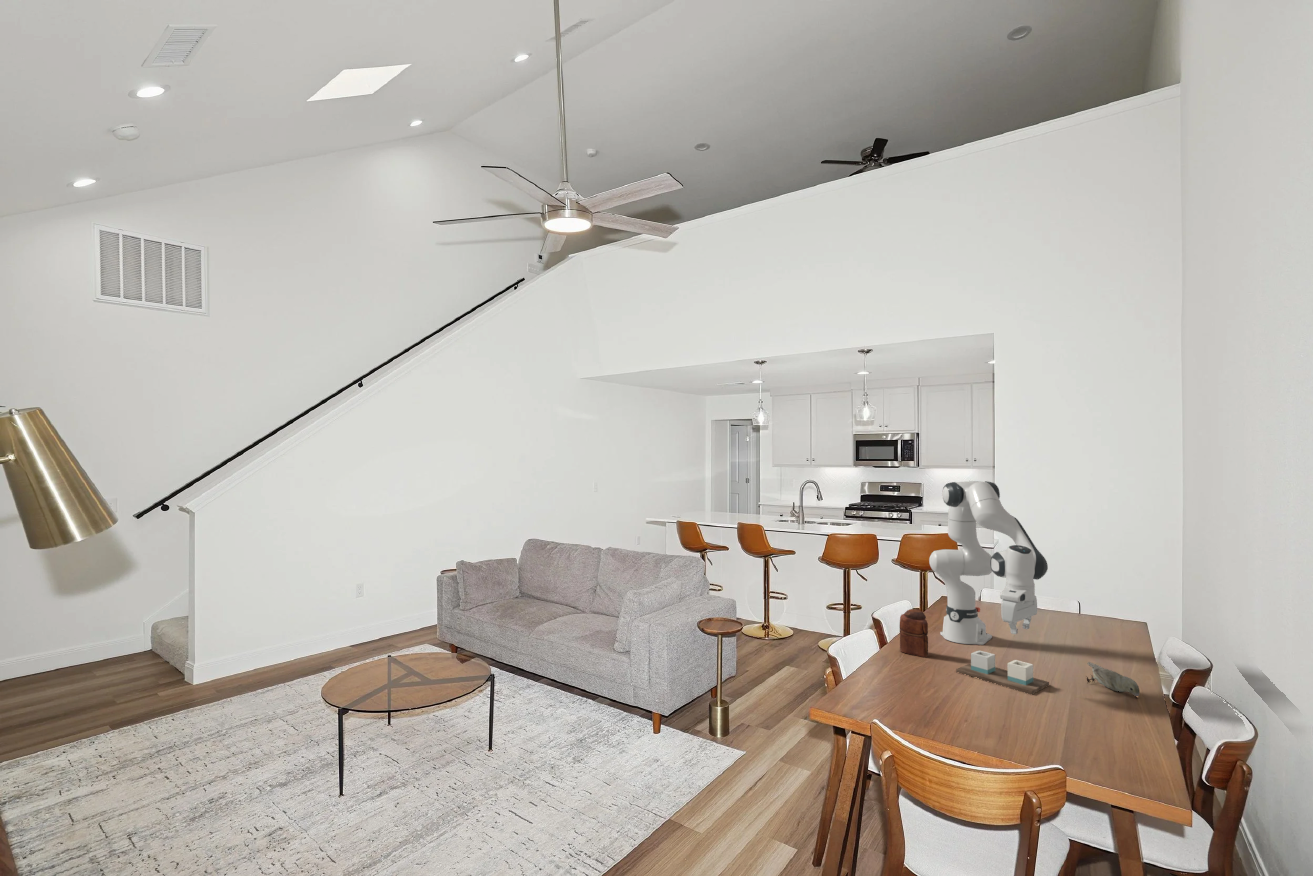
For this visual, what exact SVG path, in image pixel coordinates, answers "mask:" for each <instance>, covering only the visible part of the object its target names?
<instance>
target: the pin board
mask: <svg viewBox="0 0 1313 876" xmlns="http://www.w3.org/2000/svg"><path fill="white" fill-rule="evenodd" d="M983 656H984V655H983ZM1020 666H1022V665H1020ZM955 671H956V673H957V672H959V673H958V674H960V673H963V674H962V675H964V674H966V675H965V676H967V675H969V676H968V677H970V676H973V677H972V678H974V677H977V678H979V679H978V680H980V679H982V680H981V681H984V680H985V681H984V682H987V681H989V682H988V683H990V682H992V683H991V684H994V683H996V684H995V685H997V684H998V686H1001V685H1002V686H1001V687H1004V686H1006V687H1005V688H1007V687H1009V688H1008V689H1011V690H1014V689H1015V690H1014V691H1017V690H1018V692H1021V693H1024V692H1025V693H1024V694H1027V693H1028V694H1027V695H1031V694H1032V695H1034V694H1036V693H1038V692H1040V691H1041V690H1043V689H1045V688H1047V687H1049V686H1050V681H1047V680H1044V679H1039V678H1036V677H1033V682H1031V683H1029V684H1027V685H1023V684H1019V683H1016V682H1013V681H1009V680H1008V669H1005V668H1004V669H1003V668H1000V667H997V666H995V671H994V672H992V673H989V674H985V673H981V672H978V671H974V670H971V662H970V663H968V664H965V665H963V666H960V667H958V668H956V669H955ZM977 678H976V679H977ZM1048 685H1049V686H1048ZM1046 686H1047V687H1046ZM1044 687H1045V688H1044ZM1039 690H1040V691H1039ZM1037 691H1038V692H1037ZM1035 692H1036V693H1035ZM1033 693H1034V694H1033Z"/></svg>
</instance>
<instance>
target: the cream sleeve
mask: <svg viewBox="0 0 1313 876" xmlns="http://www.w3.org/2000/svg"><path fill="white" fill-rule="evenodd" d="M1020 665H1022V666H1020ZM1007 670H1008V680H1009V681H1013V682H1016V683H1019V684H1023V685H1027V684H1029V683H1031V682H1033V678H1034V664H1032V663H1030V662H1026V661H1025V662H1024V661H1021V660H1018V659H1014V660H1011V661H1009V662H1007Z"/></svg>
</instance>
